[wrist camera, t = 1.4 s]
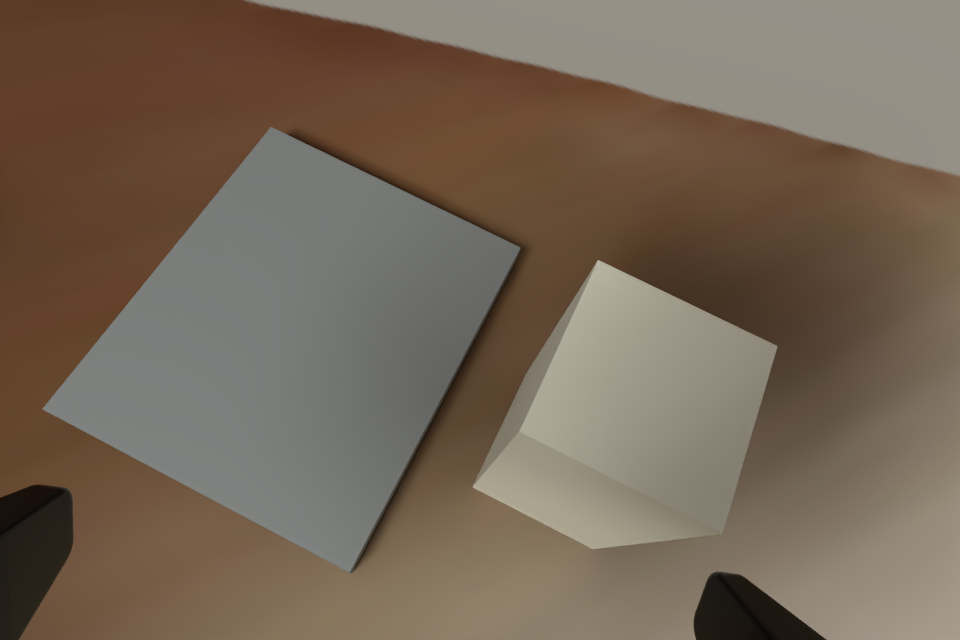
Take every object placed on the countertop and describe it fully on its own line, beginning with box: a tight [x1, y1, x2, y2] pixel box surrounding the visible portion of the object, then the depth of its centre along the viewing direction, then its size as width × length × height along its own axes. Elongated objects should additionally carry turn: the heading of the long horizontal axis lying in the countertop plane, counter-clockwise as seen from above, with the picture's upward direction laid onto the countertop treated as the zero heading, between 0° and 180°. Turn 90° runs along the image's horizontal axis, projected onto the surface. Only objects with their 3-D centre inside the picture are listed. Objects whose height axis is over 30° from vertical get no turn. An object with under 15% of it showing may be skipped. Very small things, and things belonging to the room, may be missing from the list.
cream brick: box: [473, 260, 778, 549], centre depth 19 cm, size 5×5×10 cm
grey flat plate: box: [43, 127, 521, 573], centre depth 24 cm, size 12×14×1 cm
